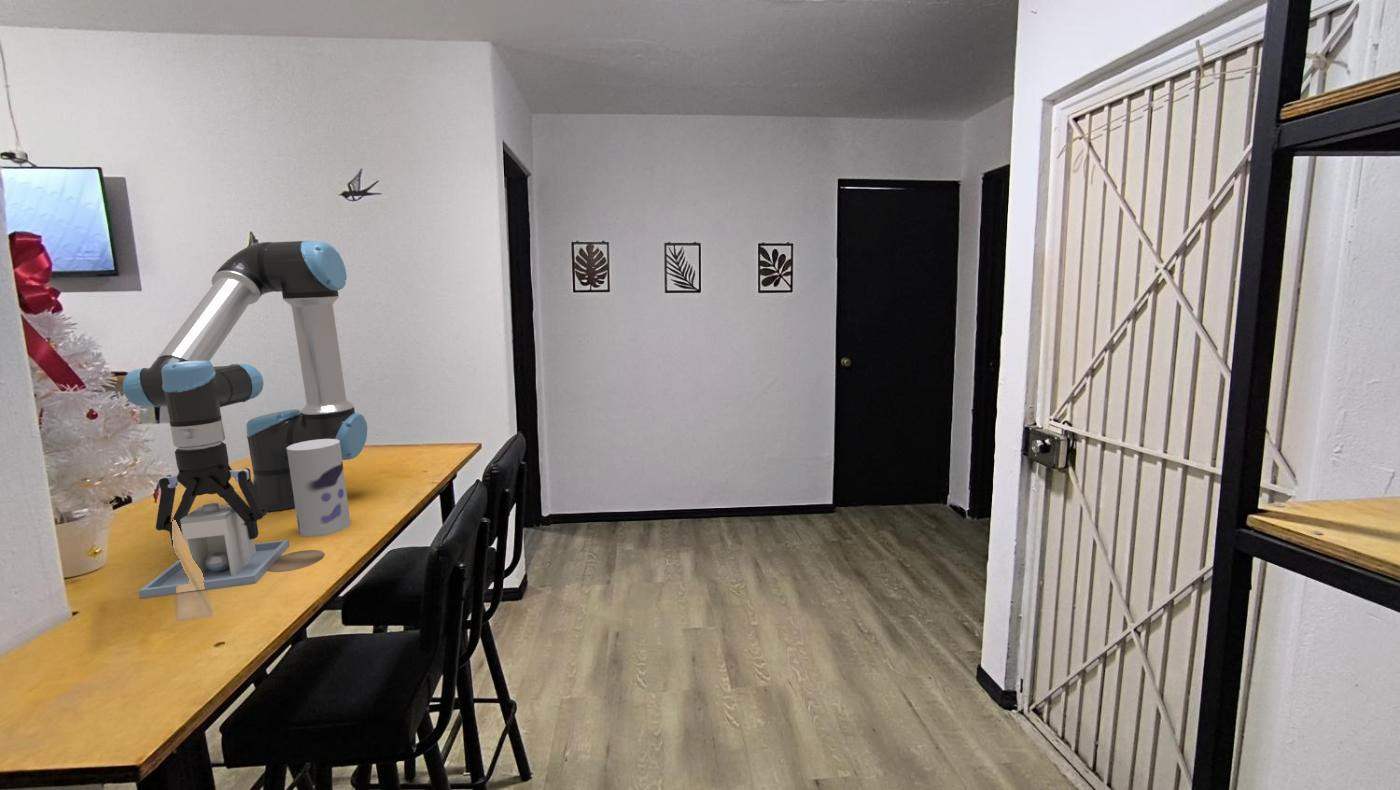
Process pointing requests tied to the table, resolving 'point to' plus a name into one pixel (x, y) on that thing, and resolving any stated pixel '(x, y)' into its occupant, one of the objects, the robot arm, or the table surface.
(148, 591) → the tray
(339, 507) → the container
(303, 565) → the coaster
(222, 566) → the ball
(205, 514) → the open-front grey box
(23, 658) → the table surface
